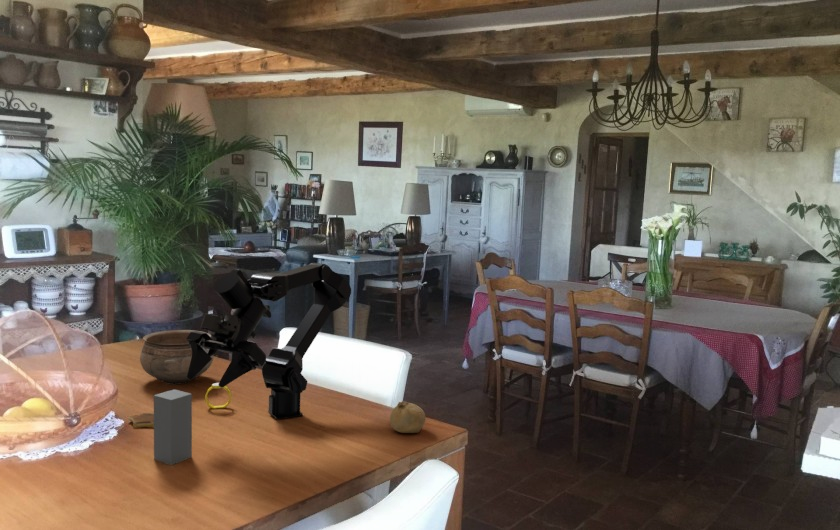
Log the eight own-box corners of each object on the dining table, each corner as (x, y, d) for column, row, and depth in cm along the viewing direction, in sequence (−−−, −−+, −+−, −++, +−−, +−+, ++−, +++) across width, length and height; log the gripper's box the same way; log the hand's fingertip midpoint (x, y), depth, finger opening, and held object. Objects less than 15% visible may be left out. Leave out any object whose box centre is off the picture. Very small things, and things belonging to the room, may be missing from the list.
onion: (403, 422, 166) (405, 393, 165) (431, 430, 161) (433, 400, 160) (382, 431, 159) (383, 401, 158) (411, 440, 155) (412, 408, 154)
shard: (181, 429, 157) (181, 421, 157) (148, 437, 151) (148, 429, 151) (155, 417, 164) (155, 410, 164) (123, 425, 158) (123, 417, 158)
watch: (231, 405, 173) (231, 382, 172) (230, 409, 170) (230, 385, 170) (206, 406, 172) (206, 382, 171) (204, 410, 169) (204, 385, 168)
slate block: (174, 451, 143) (174, 389, 142) (191, 457, 141) (191, 393, 139) (154, 459, 139) (153, 395, 137) (171, 465, 136) (171, 400, 135)
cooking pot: (149, 369, 203) (149, 327, 201) (217, 368, 206) (218, 327, 205) (130, 395, 178) (130, 348, 177) (208, 394, 182) (208, 347, 180)
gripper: (192, 294, 153) (150, 353, 144) (257, 304, 143) (215, 368, 135) (220, 324, 160) (181, 382, 152) (282, 336, 151) (245, 398, 143)
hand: (204, 382), depth 145 cm, fingers open, 9 cm apart
